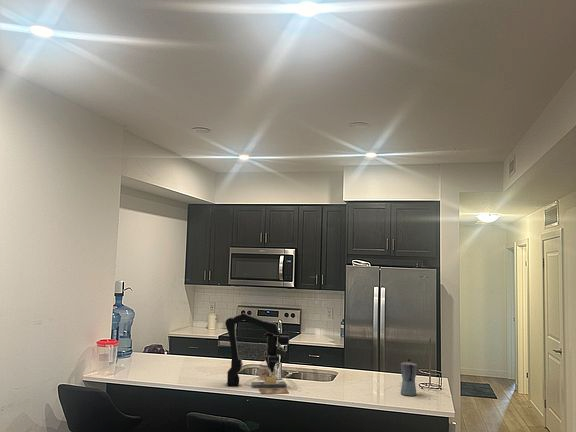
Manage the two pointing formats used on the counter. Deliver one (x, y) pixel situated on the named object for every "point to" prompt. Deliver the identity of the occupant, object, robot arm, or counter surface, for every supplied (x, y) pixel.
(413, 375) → the moka pot
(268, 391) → the walnut board
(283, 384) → the plane body
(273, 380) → the lever cap
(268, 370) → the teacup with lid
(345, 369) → the counter surface
